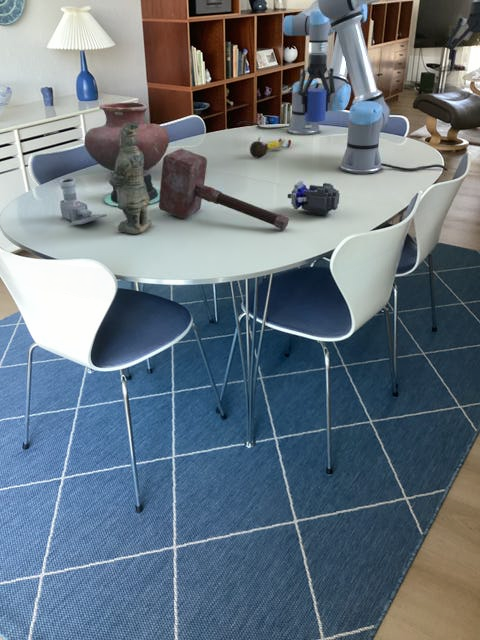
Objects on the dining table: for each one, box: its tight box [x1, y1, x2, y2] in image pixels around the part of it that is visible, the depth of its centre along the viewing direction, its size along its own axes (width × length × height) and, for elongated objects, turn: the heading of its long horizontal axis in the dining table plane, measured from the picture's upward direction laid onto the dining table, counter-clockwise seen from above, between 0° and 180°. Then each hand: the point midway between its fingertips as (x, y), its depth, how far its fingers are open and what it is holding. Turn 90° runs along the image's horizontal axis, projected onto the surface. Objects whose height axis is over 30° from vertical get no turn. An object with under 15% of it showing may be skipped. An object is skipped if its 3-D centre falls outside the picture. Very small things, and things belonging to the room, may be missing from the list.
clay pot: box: [83, 101, 170, 172], centre depth 207 cm, size 30×30×25 cm
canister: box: [305, 88, 327, 123], centre depth 237 cm, size 9×9×12 cm
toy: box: [287, 180, 341, 216], centre depth 168 cm, size 9×9×15 cm
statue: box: [108, 121, 153, 235], centre depth 154 cm, size 11×9×30 cm
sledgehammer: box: [158, 148, 290, 231], centre depth 163 cm, size 17×10×40 cm
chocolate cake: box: [103, 169, 160, 207], centre depth 186 cm, size 15×19×20 cm
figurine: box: [249, 135, 292, 158], centre depth 235 cm, size 13×8×25 cm
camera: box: [59, 177, 108, 225], centre depth 165 cm, size 9×12×15 cm
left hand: (315, 111), depth 239 cm, fingers closed on canister, 9 cm apart
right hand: (471, 71), depth 194 cm, fingers open, 13 cm apart
